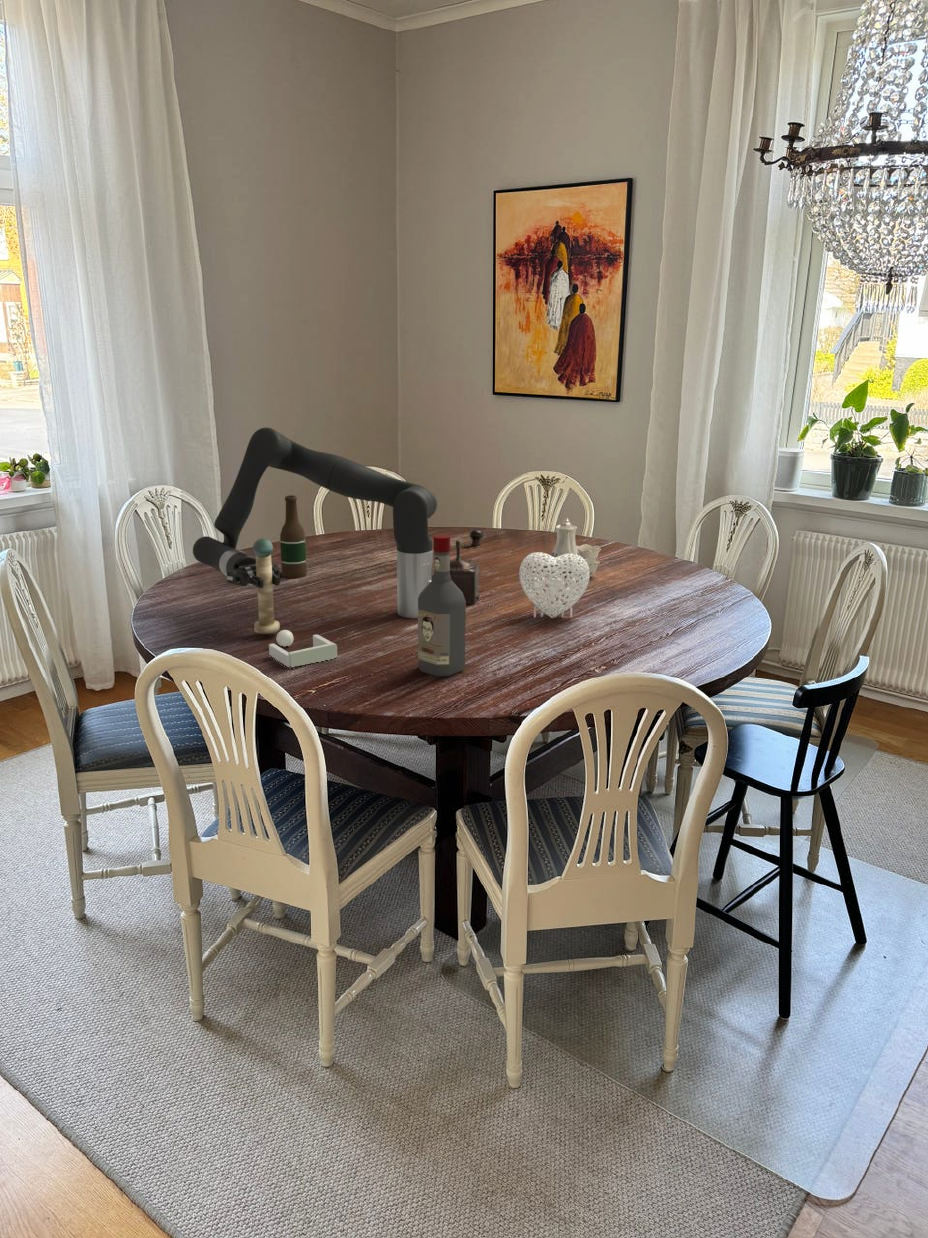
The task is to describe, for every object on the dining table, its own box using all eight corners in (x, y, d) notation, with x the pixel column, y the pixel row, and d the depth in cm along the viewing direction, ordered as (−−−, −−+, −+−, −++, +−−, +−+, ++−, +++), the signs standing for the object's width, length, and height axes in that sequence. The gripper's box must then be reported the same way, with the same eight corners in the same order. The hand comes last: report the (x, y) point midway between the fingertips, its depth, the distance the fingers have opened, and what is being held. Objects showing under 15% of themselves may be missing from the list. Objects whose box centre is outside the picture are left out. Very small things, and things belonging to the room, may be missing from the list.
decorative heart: (516, 621, 240) (518, 556, 235) (519, 609, 250) (521, 547, 245) (587, 625, 238) (590, 559, 233) (587, 612, 248) (590, 549, 243)
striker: (282, 626, 230) (278, 535, 223) (276, 634, 224) (272, 541, 217) (258, 625, 230) (253, 535, 223) (251, 633, 224) (246, 541, 217)
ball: (295, 643, 222) (294, 627, 221) (291, 649, 219) (291, 633, 217) (279, 643, 223) (278, 627, 221) (274, 649, 219) (273, 632, 218)
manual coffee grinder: (476, 605, 254) (477, 540, 248) (436, 603, 255) (436, 538, 250) (483, 589, 268) (484, 528, 263) (445, 588, 270) (445, 526, 264)
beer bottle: (311, 573, 284) (308, 494, 276) (300, 579, 277) (297, 499, 269) (288, 571, 286) (284, 492, 278) (276, 577, 279) (272, 497, 271)
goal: (269, 656, 214) (268, 642, 213) (317, 646, 221) (317, 632, 220) (289, 669, 206) (288, 654, 205) (338, 658, 213) (338, 643, 212)
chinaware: (602, 587, 278) (611, 533, 272) (546, 580, 278) (554, 526, 273) (596, 564, 304) (604, 514, 299) (545, 557, 305) (552, 507, 300)
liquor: (439, 658, 214) (439, 529, 204) (470, 668, 208) (472, 536, 199) (412, 669, 207) (411, 536, 198) (443, 679, 201) (444, 543, 192)
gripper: (211, 555, 229) (241, 571, 216) (264, 548, 237) (296, 563, 224) (213, 585, 231) (242, 602, 218) (266, 577, 239) (297, 593, 226)
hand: (269, 582), depth 221 cm, fingers closed on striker, 3 cm apart
